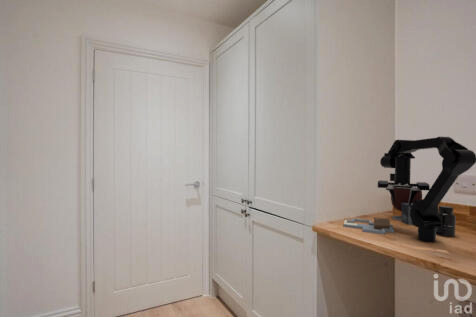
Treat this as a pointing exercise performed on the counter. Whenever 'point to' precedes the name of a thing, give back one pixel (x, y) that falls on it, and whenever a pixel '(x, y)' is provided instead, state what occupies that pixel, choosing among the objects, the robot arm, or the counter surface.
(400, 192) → the mate gourd
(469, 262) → the counter surface
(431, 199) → the robot arm
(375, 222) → the walnut block
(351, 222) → the trap tray
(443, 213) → the supplement bottle
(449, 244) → the counter surface
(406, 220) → the small box
